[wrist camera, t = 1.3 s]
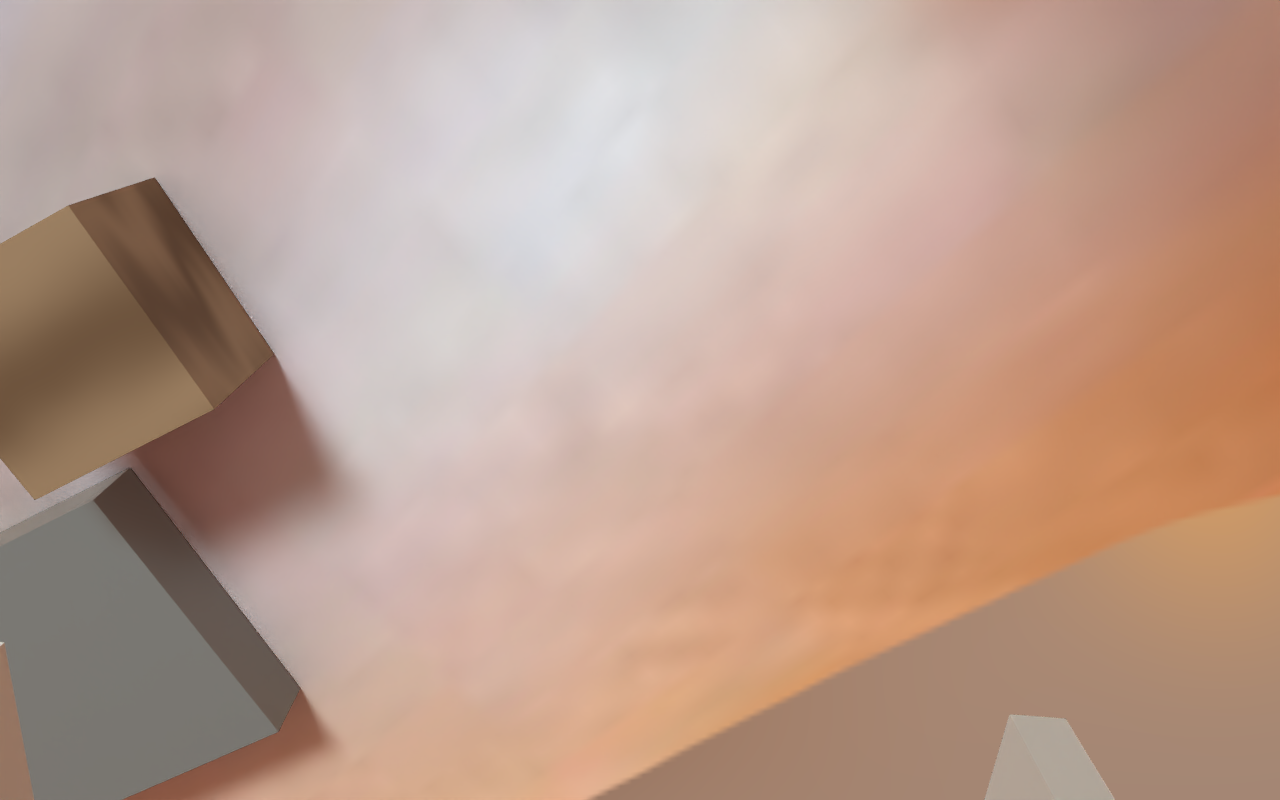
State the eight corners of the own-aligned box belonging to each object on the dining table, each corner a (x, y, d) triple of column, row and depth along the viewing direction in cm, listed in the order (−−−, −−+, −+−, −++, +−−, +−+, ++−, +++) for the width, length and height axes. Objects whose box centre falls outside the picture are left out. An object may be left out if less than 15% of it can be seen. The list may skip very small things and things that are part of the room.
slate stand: (-103, 584, 43) (-154, 623, 41) (129, 467, 41) (93, 500, 38) (81, 784, 48) (47, 832, 45) (300, 688, 46) (278, 731, 43)
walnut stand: (-10, 269, 38) (-121, 311, 32) (154, 177, 37) (67, 205, 31) (117, 434, 41) (34, 499, 35) (274, 354, 39) (214, 409, 34)
